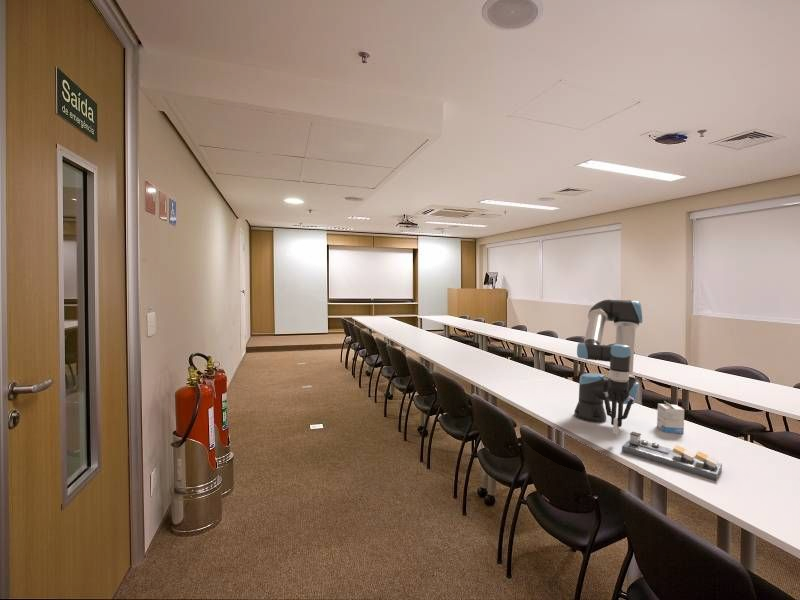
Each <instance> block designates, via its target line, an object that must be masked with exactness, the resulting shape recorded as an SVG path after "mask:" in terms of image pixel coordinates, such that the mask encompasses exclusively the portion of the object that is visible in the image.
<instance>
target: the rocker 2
mask: <svg viewBox="0 0 800 600" xmlns="http://www.w3.org/2000/svg"><path fill="white" fill-rule="evenodd" d="M695 458H696V459H698V460H700V461H702V462H704V463H706V464H708V465H710V466H712V467H714V468H715V467H716V465H717V463H718V462H719V460H718V459H716V458H714V457H712V456H710V455H708V454H706V453H704V452H702V451H699V450H698V451H697V452H696V453H695Z"/></svg>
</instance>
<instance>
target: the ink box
mask: <svg viewBox="0 0 800 600" xmlns="http://www.w3.org/2000/svg"><path fill="white" fill-rule="evenodd" d="M656 417H657V418H656V427H657V428H659V429H660V430H661V431H663V432H664V433H669V434H684V432H685V431H684V427H685V409H684V408H682V407H680V406H679V405H677V404H672V403H671V404H670V403H669V402H666V401H665V400H664V403H657V416H656Z"/></svg>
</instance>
